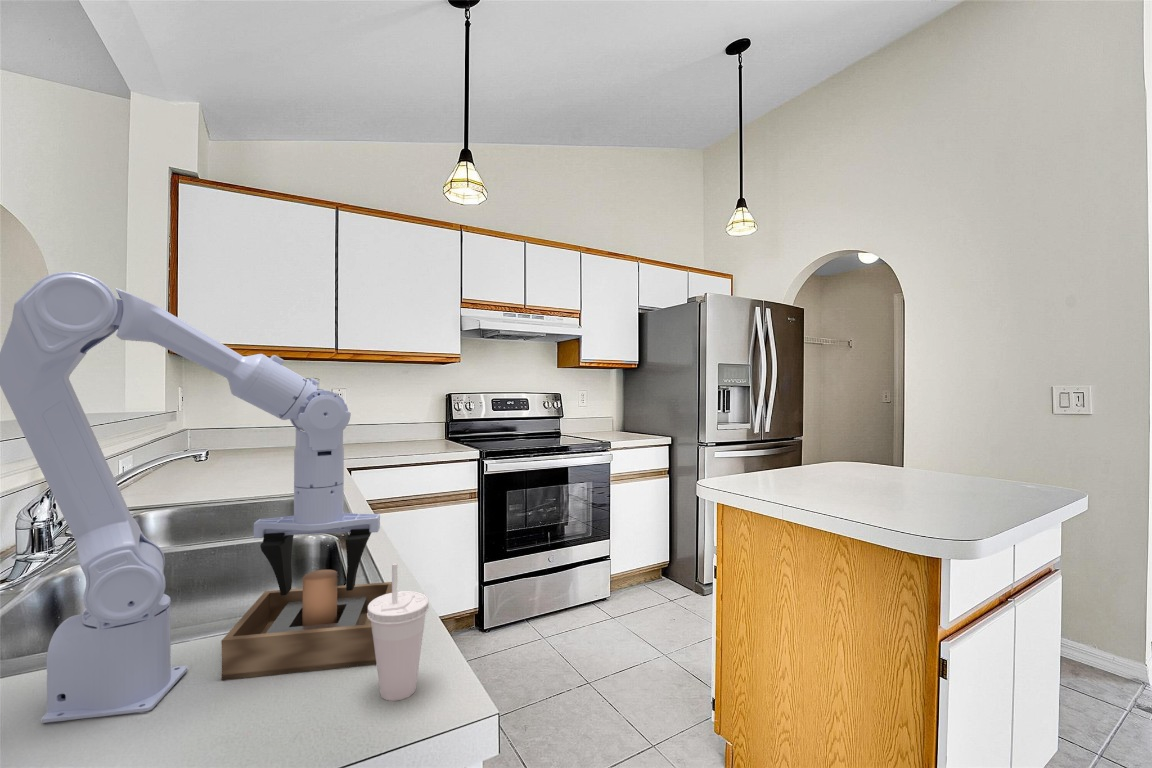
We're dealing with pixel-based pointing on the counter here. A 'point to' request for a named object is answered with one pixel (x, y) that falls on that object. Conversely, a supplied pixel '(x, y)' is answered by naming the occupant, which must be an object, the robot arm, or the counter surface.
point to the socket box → (296, 639)
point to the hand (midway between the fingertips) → (318, 589)
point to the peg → (319, 598)
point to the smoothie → (397, 639)
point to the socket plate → (347, 615)
